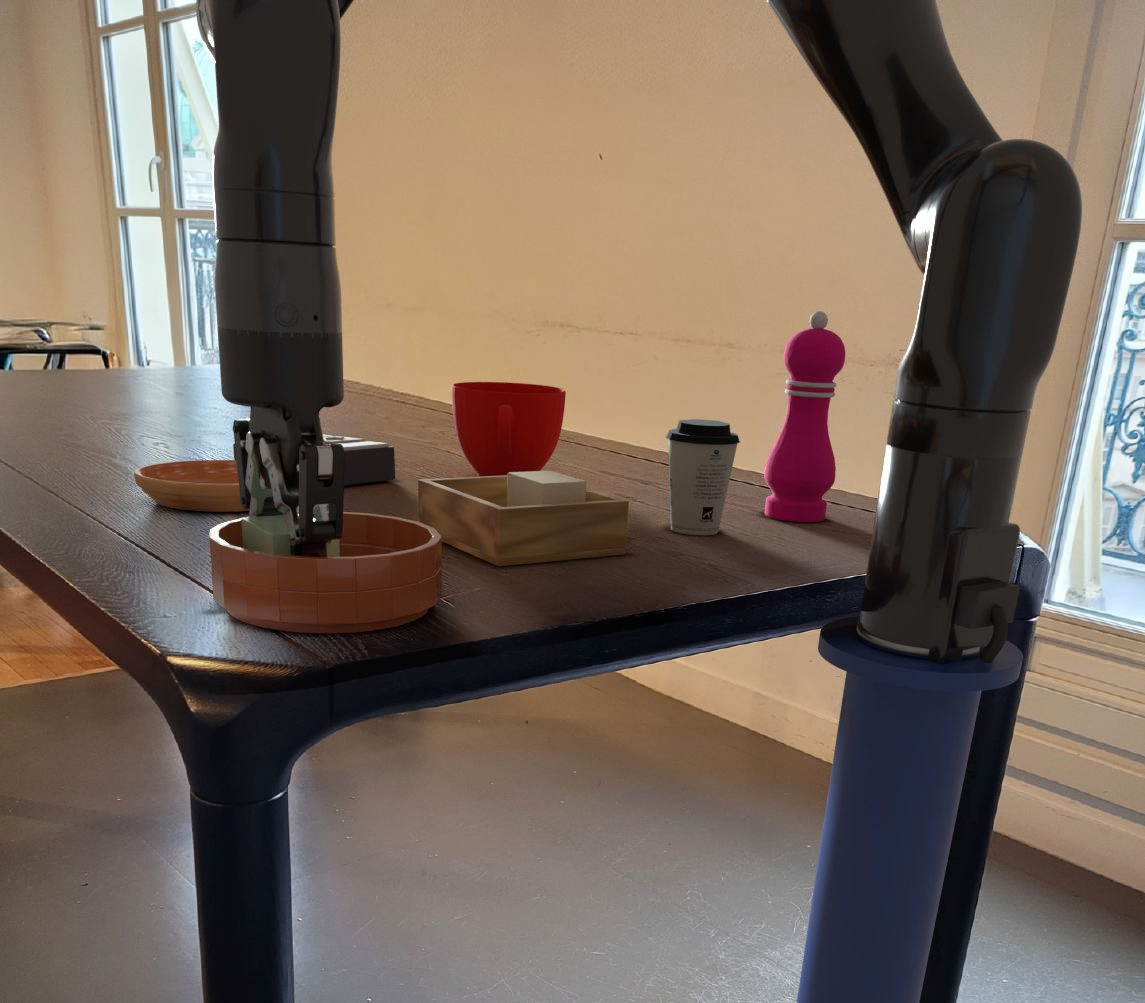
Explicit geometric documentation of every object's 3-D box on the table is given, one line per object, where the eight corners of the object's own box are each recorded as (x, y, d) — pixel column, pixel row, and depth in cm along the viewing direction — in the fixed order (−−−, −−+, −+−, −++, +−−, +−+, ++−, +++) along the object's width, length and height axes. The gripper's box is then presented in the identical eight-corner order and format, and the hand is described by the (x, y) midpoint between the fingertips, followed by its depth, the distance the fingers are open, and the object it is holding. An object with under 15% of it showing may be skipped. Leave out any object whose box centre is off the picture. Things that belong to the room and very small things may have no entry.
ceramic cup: (443, 489, 124) (443, 392, 120) (455, 465, 140) (456, 379, 136) (562, 494, 125) (566, 399, 121) (561, 470, 140) (565, 385, 136)
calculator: (311, 430, 135) (395, 439, 126) (313, 468, 136) (397, 479, 127) (230, 436, 127) (314, 446, 118) (234, 475, 129) (317, 488, 119)
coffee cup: (726, 540, 106) (737, 429, 103) (652, 533, 108) (661, 423, 104) (734, 526, 113) (745, 421, 109) (664, 520, 114) (672, 416, 110)
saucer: (138, 487, 116) (135, 457, 115) (299, 487, 121) (297, 458, 120) (135, 518, 102) (131, 484, 101) (317, 516, 107) (315, 484, 106)
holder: (625, 554, 99) (629, 500, 97) (498, 566, 92) (499, 509, 90) (536, 522, 110) (538, 473, 108) (418, 531, 103) (417, 479, 102)
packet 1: (341, 605, 76) (339, 530, 75) (276, 612, 74) (272, 535, 72) (308, 584, 81) (305, 513, 79) (245, 590, 79) (241, 517, 77)
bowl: (479, 621, 77) (480, 547, 75) (259, 648, 69) (254, 567, 68) (384, 571, 89) (383, 506, 87) (186, 589, 81) (180, 518, 79)
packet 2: (583, 538, 101) (586, 481, 99) (540, 542, 99) (542, 483, 97) (547, 525, 106) (550, 470, 104) (505, 528, 103) (507, 472, 101)
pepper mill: (801, 526, 115) (828, 312, 107) (745, 513, 120) (767, 308, 112) (843, 519, 119) (872, 313, 112) (788, 507, 124) (812, 309, 116)
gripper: (385, 332, 67) (388, 610, 74) (296, 319, 78) (306, 562, 85) (260, 329, 63) (275, 623, 70) (185, 315, 74) (204, 570, 81)
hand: (292, 588), depth 77 cm, fingers closed on packet 1, 6 cm apart
